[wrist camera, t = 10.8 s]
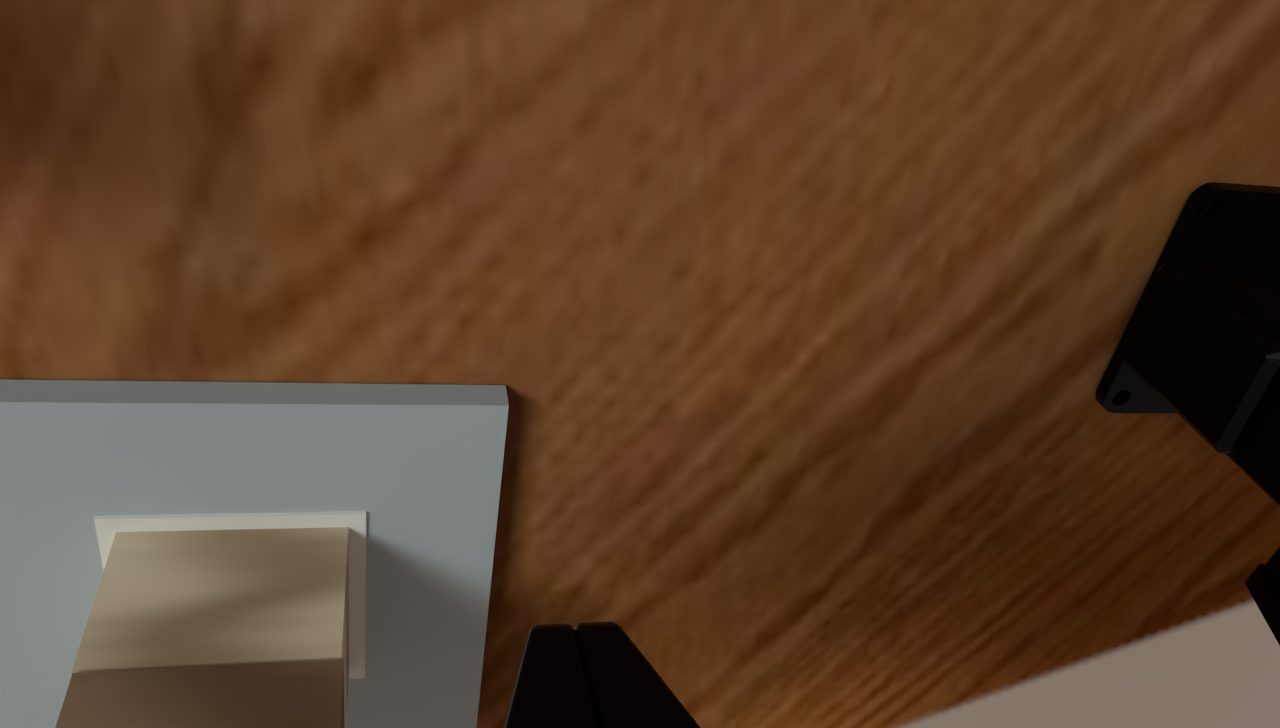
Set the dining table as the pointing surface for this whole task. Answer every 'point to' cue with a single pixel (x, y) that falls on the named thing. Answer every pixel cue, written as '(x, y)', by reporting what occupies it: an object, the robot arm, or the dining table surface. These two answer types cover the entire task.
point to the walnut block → (209, 697)
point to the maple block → (220, 600)
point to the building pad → (259, 518)
